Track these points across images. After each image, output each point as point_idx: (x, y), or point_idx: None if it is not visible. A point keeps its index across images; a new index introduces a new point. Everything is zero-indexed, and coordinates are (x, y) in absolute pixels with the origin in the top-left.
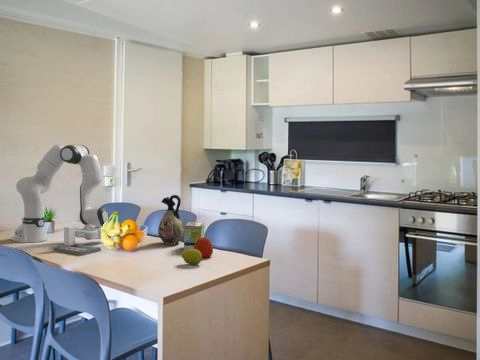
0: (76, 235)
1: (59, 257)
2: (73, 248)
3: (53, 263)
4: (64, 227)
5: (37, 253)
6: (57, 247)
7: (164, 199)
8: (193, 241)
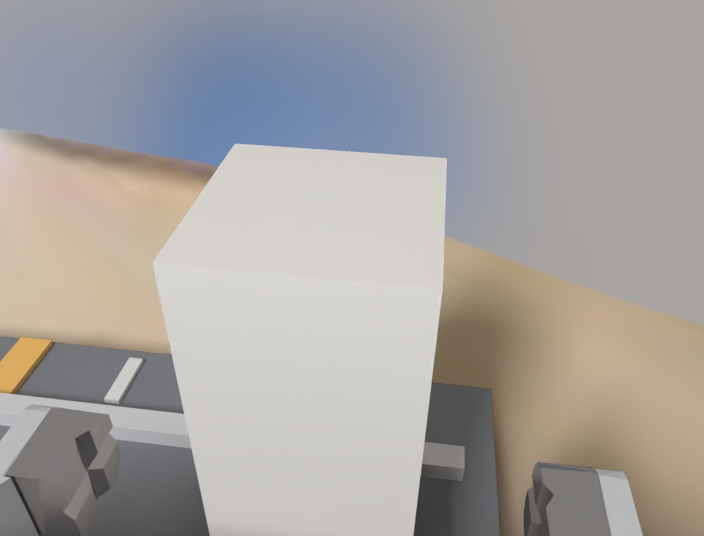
0: (107, 422)
1: None
2: (119, 412)
3: (114, 157)
4: (427, 167)
5: (522, 292)
6: (436, 408)
7: None
8: None
